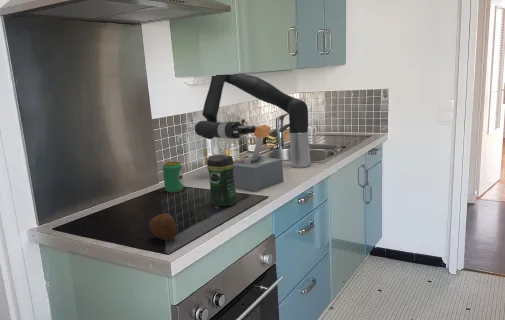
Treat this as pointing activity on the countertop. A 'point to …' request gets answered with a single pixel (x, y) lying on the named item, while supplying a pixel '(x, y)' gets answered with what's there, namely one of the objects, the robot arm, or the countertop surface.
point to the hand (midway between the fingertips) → (259, 130)
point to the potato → (163, 227)
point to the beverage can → (173, 177)
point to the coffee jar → (221, 180)
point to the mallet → (259, 140)
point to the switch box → (257, 173)
